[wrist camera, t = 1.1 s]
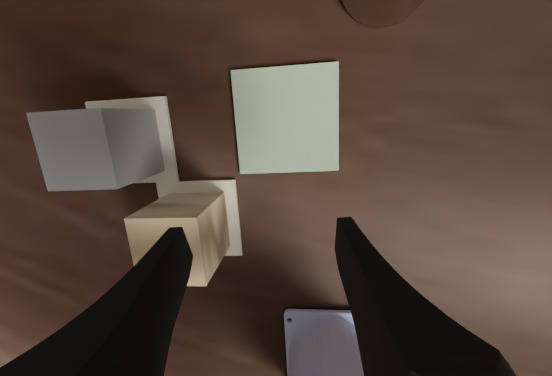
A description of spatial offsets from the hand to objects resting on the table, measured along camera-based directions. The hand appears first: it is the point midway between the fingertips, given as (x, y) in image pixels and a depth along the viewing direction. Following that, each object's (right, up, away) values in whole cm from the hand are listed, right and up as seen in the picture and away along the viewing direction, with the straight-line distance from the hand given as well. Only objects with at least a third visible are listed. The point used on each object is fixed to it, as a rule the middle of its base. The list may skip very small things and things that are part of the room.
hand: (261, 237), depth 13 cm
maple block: (-6, 0, +11) cm, 13 cm away
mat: (+2, +8, +9) cm, 11 cm away
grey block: (-11, +6, +10) cm, 16 cm away
